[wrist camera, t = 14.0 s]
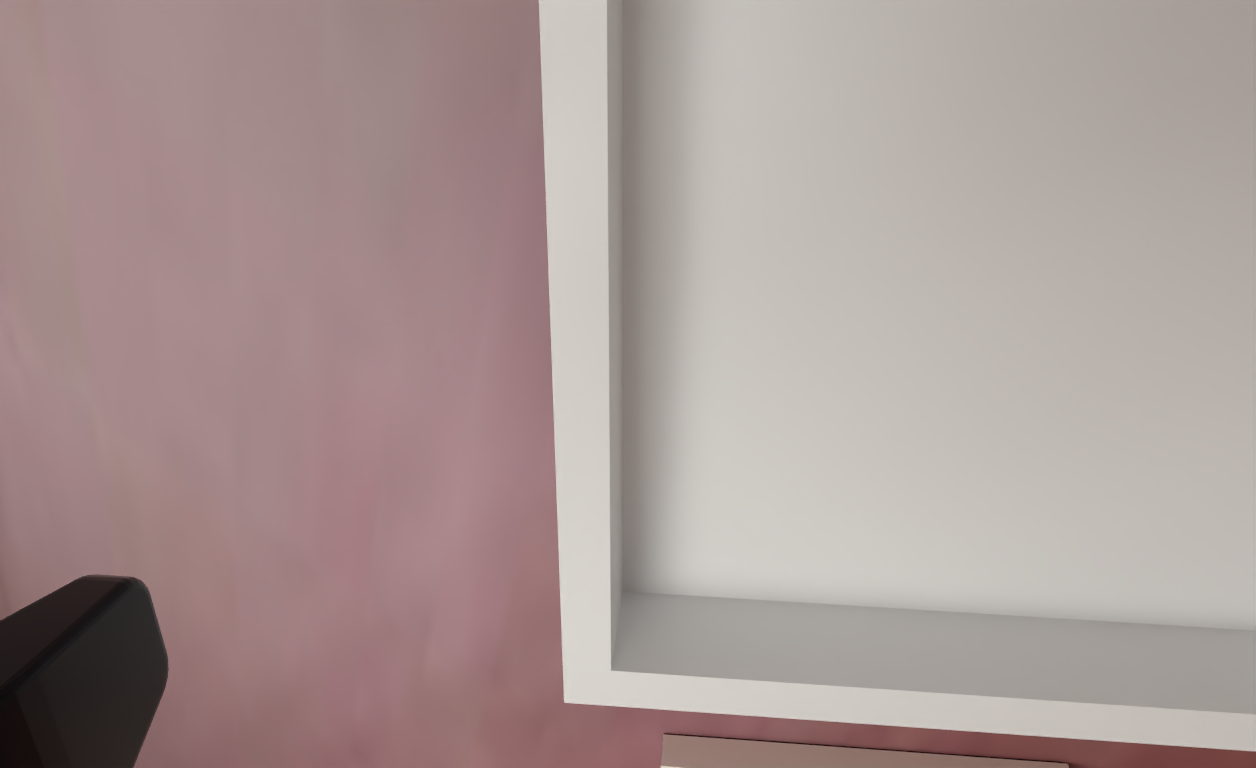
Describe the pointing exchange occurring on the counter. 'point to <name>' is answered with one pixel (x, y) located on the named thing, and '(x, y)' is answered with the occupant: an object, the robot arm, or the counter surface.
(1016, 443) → the white square tray
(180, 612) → the counter surface
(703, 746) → the ceramic coaster
